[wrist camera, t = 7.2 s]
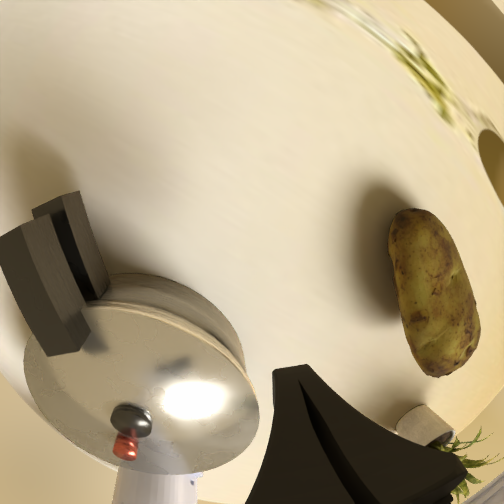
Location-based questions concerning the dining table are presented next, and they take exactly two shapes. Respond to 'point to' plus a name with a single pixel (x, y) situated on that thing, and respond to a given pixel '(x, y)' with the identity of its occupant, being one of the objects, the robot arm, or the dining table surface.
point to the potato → (432, 293)
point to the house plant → (436, 439)
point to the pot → (131, 279)
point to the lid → (124, 370)
